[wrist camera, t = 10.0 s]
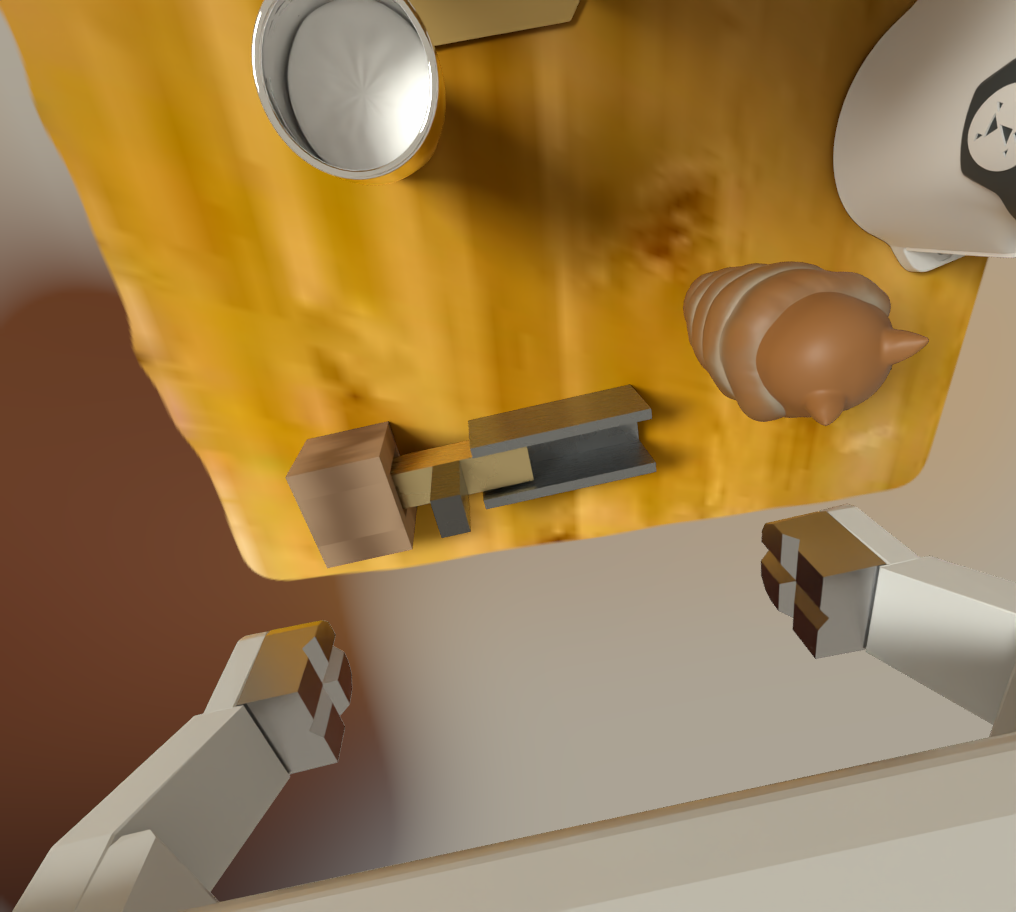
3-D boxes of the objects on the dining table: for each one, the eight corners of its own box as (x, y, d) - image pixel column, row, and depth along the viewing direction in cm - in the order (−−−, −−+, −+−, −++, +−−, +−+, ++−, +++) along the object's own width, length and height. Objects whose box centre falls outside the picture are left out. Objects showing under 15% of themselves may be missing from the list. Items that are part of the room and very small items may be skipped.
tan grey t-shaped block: (521, 428, 41) (535, 477, 34) (528, 461, 43) (543, 515, 36) (346, 467, 41) (324, 524, 34) (358, 499, 43) (340, 560, 36)
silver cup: (438, 43, 31) (426, -62, 18) (455, 178, 34) (457, 175, 21) (317, 56, 31) (214, -41, 17) (347, 190, 34) (278, 195, 21)
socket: (388, 421, 41) (378, 456, 36) (417, 506, 45) (412, 549, 40) (307, 439, 41) (285, 477, 36) (342, 522, 45) (327, 568, 40)
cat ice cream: (689, 375, 42) (834, 494, 26) (624, 307, 39) (743, 394, 23) (781, 289, 39) (1005, 361, 23) (719, 210, 36) (926, 231, 20)
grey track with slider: (630, 384, 42) (651, 408, 37) (635, 442, 44) (656, 471, 40) (468, 420, 42) (470, 448, 37) (482, 476, 44) (486, 509, 40)
